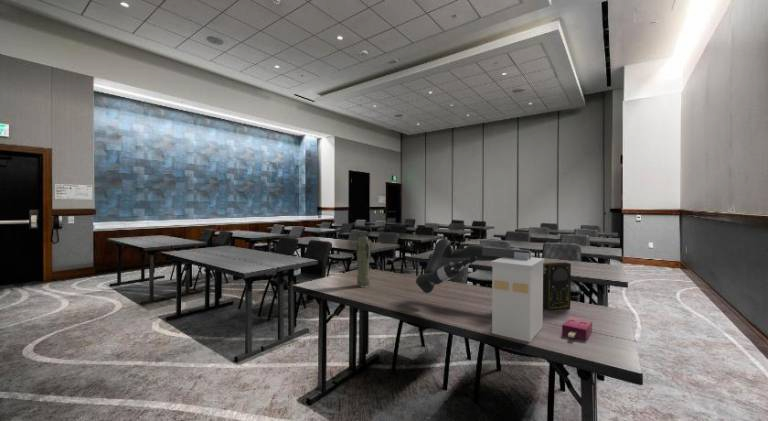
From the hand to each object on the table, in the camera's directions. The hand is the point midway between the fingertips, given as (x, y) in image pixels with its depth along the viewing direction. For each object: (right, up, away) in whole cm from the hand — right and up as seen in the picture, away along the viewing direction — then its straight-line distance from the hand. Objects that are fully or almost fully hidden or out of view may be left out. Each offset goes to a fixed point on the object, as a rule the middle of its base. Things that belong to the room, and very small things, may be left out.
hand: (472, 259), depth 171 cm
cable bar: (+13, +2, -10) cm, 16 cm away
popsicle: (+40, -30, -23) cm, 55 cm away
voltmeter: (+50, -29, +16) cm, 60 cm away
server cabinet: (+16, -30, -17) cm, 38 cm away
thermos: (-60, -28, +66) cm, 93 cm away
